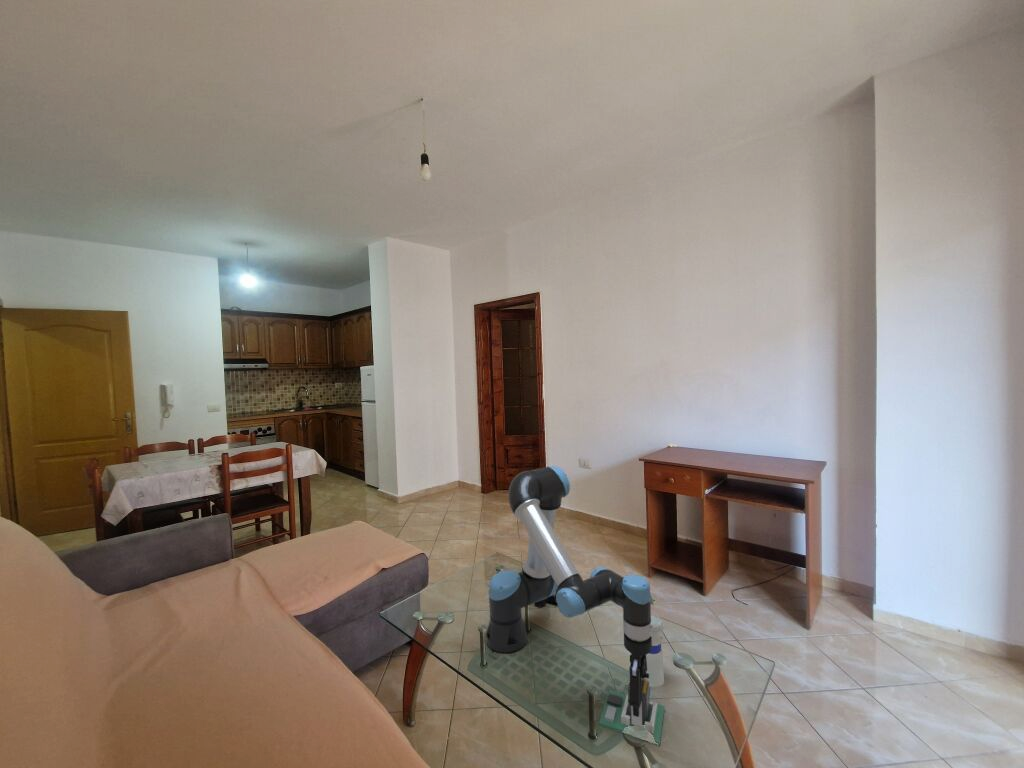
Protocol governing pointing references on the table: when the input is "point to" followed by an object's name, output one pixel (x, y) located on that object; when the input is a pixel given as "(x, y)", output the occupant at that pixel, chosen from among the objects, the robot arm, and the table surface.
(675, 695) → the table surface
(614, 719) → the board
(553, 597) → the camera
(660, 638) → the water bottle
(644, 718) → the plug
